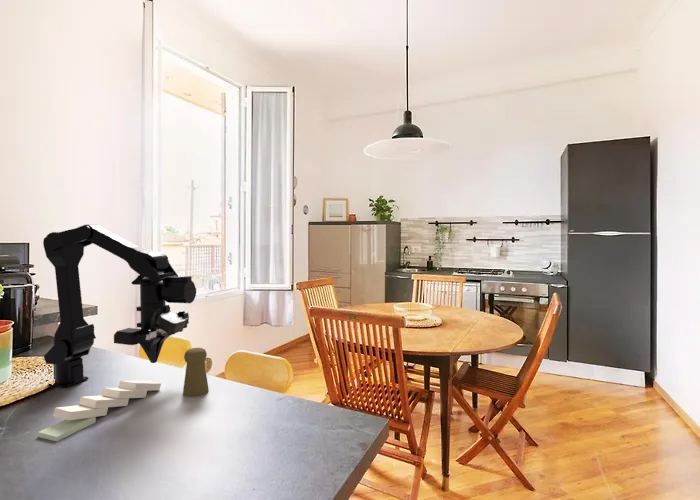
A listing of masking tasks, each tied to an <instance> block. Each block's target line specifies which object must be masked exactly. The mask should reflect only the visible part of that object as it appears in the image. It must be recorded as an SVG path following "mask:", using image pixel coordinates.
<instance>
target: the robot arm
mask: <svg viewBox="0 0 700 500" xmlns="http://www.w3.org/2000/svg"><path fill="white" fill-rule="evenodd" d="M42 244H43V249H44V253H45V257H46V258H47V259H48V261H49V263H51V265H52V266H53V267H54V271H55V272H54V273H55V274H54V275H55V281H56V283H55V284H56V291H57V292H56V293H57V302H58V310H59V319H60V320H59V324H58V326H57V328H56V331H55V333H54V340H53V346H52V347H51V348H50V349H49V350H48V351H47V352H46V353H45V354H44V355H43V360H44V362H45V364H47V365H53V366H52V367H53V368H52V369H53V380H54V379H55V383H54V384H53V387H60V388H68V387H69V388H70V387H71V386H73V385H76V384H80V383H83V382H85V381H86V380H88V379H89V376H85V375H84V364H83V363H84V362H83V360H84V359H83V357H84V356H88V355H89V353H90V351H91V348H92V347H93V345H94V342H95V339H96V338H97V337H96V335H95V325H94V324H93V323H90V324H89V323H88V322H87V320H85V319H84V312H83V310H84V309H83V299H82V291H81V289H82V288H81V281H80V271H79V270H80V269H79V265H80V262H81V261H82V258H83V256H84V254H85V252H84V251H85V248H86V247H88V246H90V245H92V244H93V245H95V246H97V247H99V248H101V249H103V250H105V251H106V252H109V253H111V254H112V255H114V256H116V257H118V258H120V259H122V260H123V261H125V262H126V263H127V264H128V266H129V268H130V269H131V270H133V271H134V272H136V274H138V275H137V277H136V278H135V279H134V280H132V281H131V284H132V285H134V286H135V285H138V286H139V293H140V294H139V296H140V297H139V303H140V305H138V306H136V312H140V321H139V322H136V328H133V327H127V328H123V329H120V330H117V331H116V332H115V333H114V334H113V343H114V344H116V345H118V344H119V345H127V346H135V345H136V346H137V345H138V344H139V346H140V347H141V348H142V350H143V351H144V353H145V355H146V357H147V358H148V360H149V362H150V363H151V364H155V363H157V362H158V359H159V356H160V353H161V350H162V347H163V345H164V343H165V341H166V340H167V339H168V338H169V337H171V336H172V335H175V334H176V333H177V334H178V333H181V332H183V331H184V329H186V328H188V324H190V321H189V320H190V318H189V315H190V314H189V312H188V311H187V310H180V311H178V312H172V311H171V306H170V305H169V304H172V303H173V304H192V303H193V302H194V301H195V298H196V297H197V287H196V284H195V282H194V281H193V280H192V276H191V275H186V276H185V275H184V276H179V275H178V273H177V272H176V271H175V268H173V266H172V265H171V264H170V261H169V257H168V256H167V255H166V253H163V252H160V251H157V250H154V249H150V248H145V247H141V246H138V245H136V244H134V243H132V242H131V241H128V240H127V239H125V238H123V237H121V236H119V235H117V234H115V233H113V232H111V231H110V230H107V229H105V228H104V227H103V226H102V225H100V224H83V225H80V226H78V227H76V228H71V229H67V230H62V231H53V232H49V233H48V234H47V235H46V236H45V237H44V238H43V242H42ZM166 303H169V304H166Z"/></svg>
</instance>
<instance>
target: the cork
mask: <svg viewBox="0 0 700 500" xmlns="http://www.w3.org/2000/svg"><path fill="white" fill-rule="evenodd" d="M207 353H208V352H207V350H206V349H205V348H203V347H191V348H188V349H187V350H186V351H185V352H184V357H183V358H184V361H185V363H186V367H185V374H184V381H183V389H182V390H183V391H182V395H183V397H186V398H197V397H198V398H199V397H201V396H205V395H206V394H208V393H209V391H210V390H209V383H208V382H209V381H208V377H207V370H206V365H205V363H206V362H205V361H206V359H207V357H208V354H207Z"/></svg>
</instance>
